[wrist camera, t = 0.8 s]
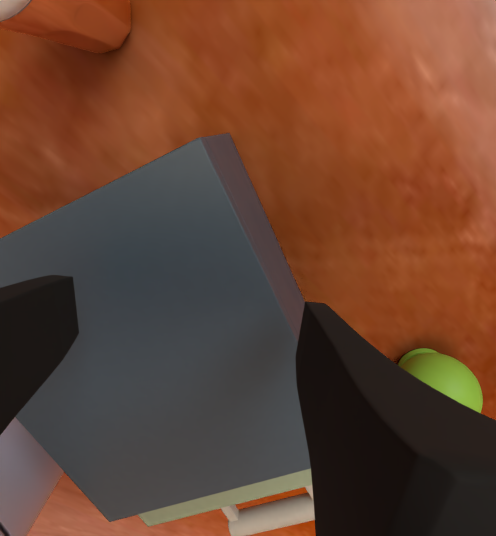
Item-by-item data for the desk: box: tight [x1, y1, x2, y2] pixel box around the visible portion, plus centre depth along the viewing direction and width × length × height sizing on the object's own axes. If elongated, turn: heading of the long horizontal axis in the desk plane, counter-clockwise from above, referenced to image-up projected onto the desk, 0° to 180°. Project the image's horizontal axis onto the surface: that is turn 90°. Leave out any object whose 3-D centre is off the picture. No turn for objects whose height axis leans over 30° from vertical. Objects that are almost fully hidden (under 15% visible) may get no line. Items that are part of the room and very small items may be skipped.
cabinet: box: [0, 133, 311, 522], centre depth 18 cm, size 14×13×8 cm
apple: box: [398, 348, 483, 413], centre depth 20 cm, size 5×5×5 cm
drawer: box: [138, 469, 315, 536], centre depth 19 cm, size 19×11×7 cm, turn 25°
